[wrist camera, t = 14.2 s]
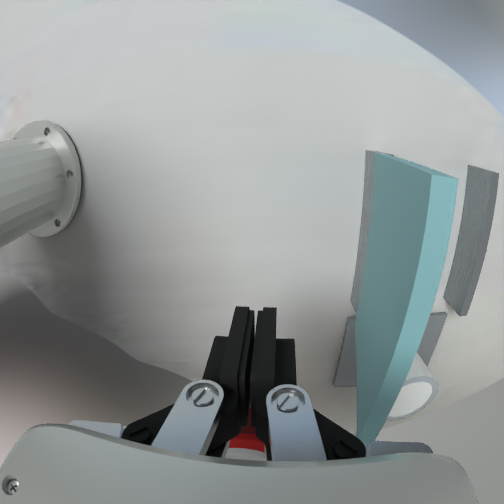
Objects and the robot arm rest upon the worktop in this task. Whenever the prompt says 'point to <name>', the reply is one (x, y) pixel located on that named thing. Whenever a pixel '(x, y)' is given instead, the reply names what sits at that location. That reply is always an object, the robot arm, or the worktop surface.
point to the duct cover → (398, 280)
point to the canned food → (246, 444)
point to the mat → (347, 360)
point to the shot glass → (414, 391)
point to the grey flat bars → (469, 241)
